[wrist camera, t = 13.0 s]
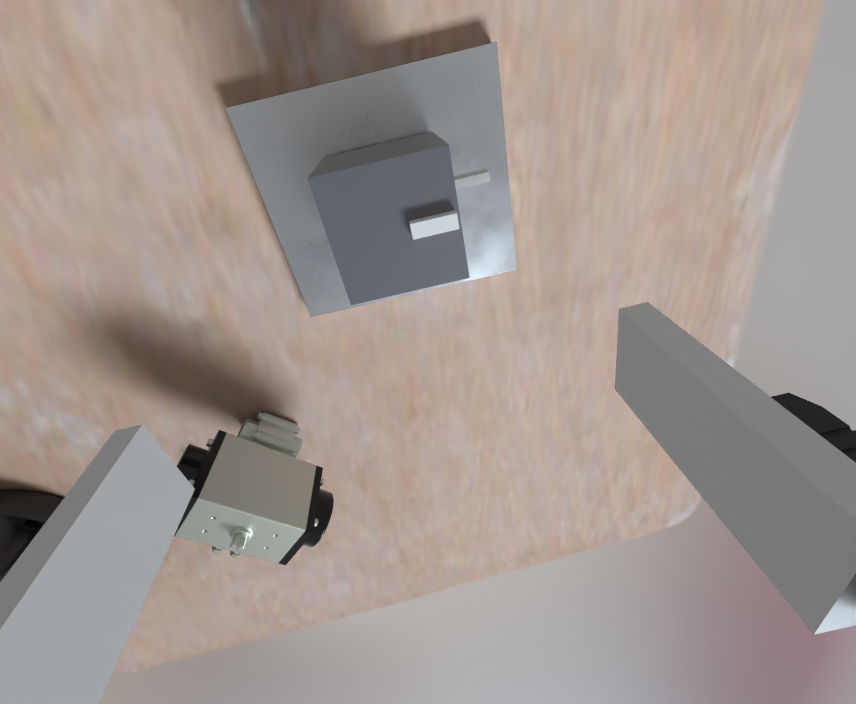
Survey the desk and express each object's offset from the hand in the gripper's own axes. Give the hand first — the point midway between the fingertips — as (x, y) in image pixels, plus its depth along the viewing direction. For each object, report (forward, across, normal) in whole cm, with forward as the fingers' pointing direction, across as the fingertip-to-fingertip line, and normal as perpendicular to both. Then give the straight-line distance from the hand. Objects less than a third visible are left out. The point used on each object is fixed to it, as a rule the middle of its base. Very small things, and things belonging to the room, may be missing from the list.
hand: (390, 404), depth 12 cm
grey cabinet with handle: (+19, +1, +1) cm, 19 cm away
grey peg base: (+21, +1, +1) cm, 21 cm away
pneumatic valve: (+21, -15, -17) cm, 31 cm away
